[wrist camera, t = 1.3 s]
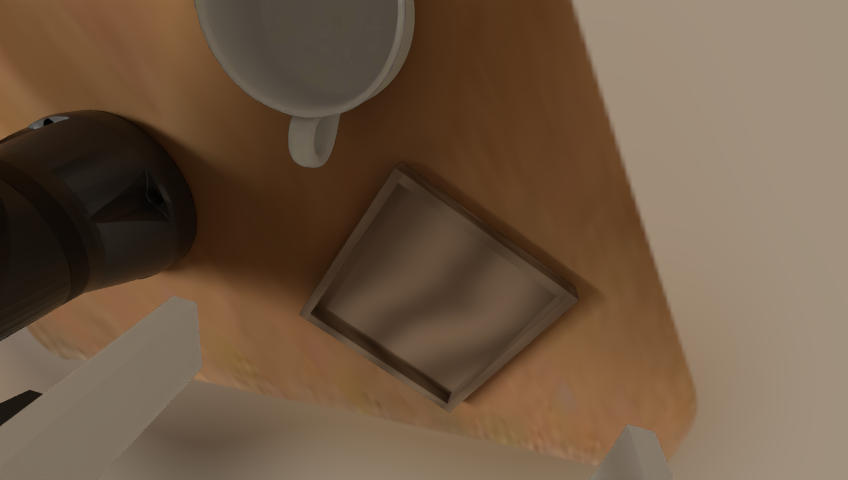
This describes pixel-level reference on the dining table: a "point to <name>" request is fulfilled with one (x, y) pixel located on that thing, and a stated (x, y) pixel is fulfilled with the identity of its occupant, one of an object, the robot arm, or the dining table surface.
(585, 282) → the dining table surface
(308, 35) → the teacup
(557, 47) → the dining table surface
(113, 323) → the dining table surface
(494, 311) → the shallow tray
